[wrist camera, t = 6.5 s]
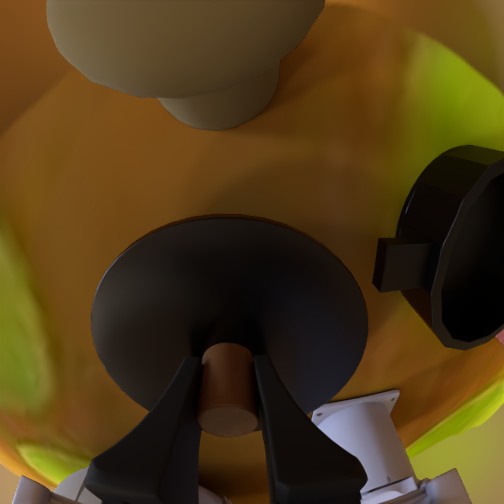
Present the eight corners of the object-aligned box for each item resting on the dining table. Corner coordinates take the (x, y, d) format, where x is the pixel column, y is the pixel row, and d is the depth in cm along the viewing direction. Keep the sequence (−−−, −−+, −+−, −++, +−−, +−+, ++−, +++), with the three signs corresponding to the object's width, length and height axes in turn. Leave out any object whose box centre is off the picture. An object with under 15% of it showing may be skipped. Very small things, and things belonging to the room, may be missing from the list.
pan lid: (338, 407, 17) (357, 465, 12) (139, 415, 16) (125, 473, 12) (377, 205, 11) (444, 246, 7) (70, 222, 11) (4, 268, 7)
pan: (506, 296, 19) (534, 321, 14) (342, 329, 18) (365, 377, 14) (533, 164, 14) (571, 176, 10) (359, 127, 13) (404, 128, 9)
